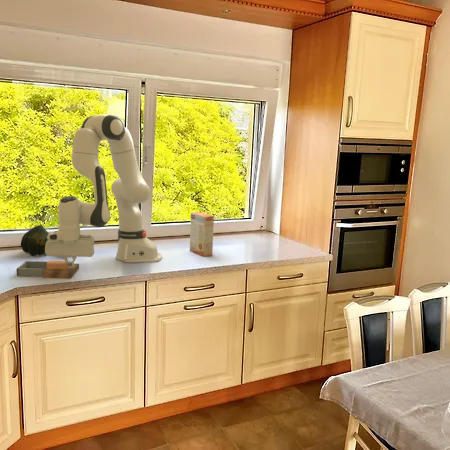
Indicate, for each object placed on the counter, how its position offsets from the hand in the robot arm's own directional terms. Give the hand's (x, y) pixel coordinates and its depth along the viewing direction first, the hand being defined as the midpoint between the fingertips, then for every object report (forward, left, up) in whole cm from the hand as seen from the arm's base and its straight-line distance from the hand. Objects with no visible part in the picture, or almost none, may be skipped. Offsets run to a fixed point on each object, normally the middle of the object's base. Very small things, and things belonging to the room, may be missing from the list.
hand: (70, 265), depth 208 cm
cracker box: (-57, -40, -4) cm, 70 cm away
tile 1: (+7, 0, -1) cm, 8 cm away
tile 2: (+3, 0, -1) cm, 4 cm away
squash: (+24, -31, -4) cm, 39 cm away
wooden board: (+4, 0, -4) cm, 5 cm away
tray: (+15, 0, -3) cm, 16 cm away
